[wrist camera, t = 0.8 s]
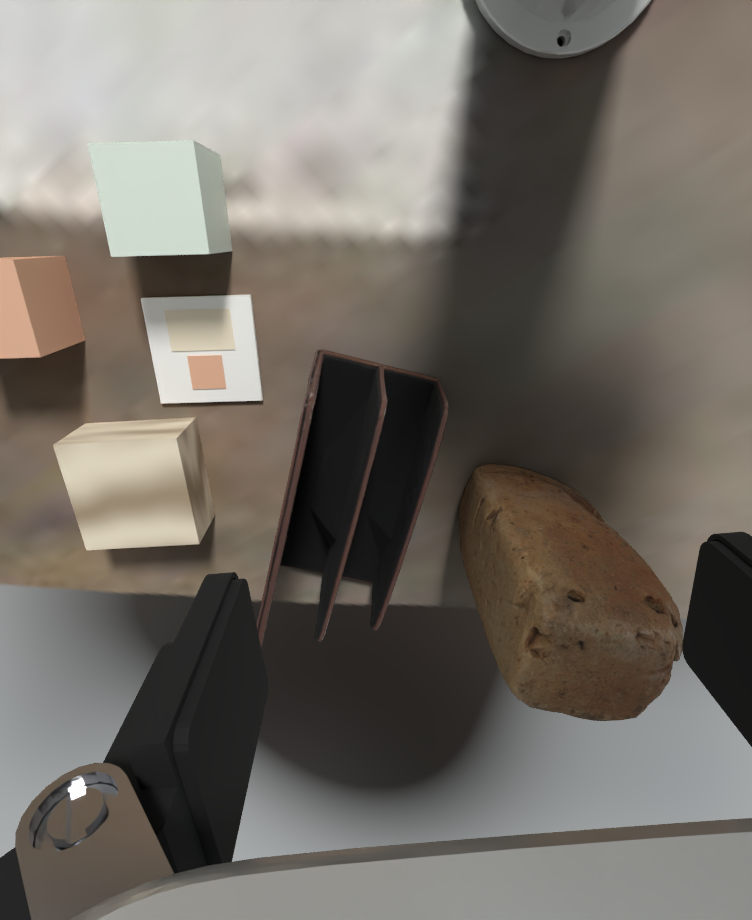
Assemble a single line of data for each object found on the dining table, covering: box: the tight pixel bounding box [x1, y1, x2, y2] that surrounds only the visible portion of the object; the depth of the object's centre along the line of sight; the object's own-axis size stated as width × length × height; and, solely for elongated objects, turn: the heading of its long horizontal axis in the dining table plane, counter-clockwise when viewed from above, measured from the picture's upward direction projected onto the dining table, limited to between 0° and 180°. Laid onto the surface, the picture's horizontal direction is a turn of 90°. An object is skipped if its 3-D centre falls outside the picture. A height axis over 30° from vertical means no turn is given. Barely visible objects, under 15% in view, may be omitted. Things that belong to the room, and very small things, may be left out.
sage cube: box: [87, 140, 232, 257], centre depth 34 cm, size 6×6×6 cm
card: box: [141, 295, 263, 403], centre depth 40 cm, size 8×8×1 cm
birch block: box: [53, 417, 215, 550], centre depth 42 cm, size 9×9×5 cm
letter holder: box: [256, 350, 449, 646], centre depth 38 cm, size 10×20×14 cm, turn 166°
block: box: [459, 464, 683, 721], centre depth 37 cm, size 11×8×20 cm
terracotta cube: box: [0, 256, 85, 359], centre depth 36 cm, size 6×6×6 cm
